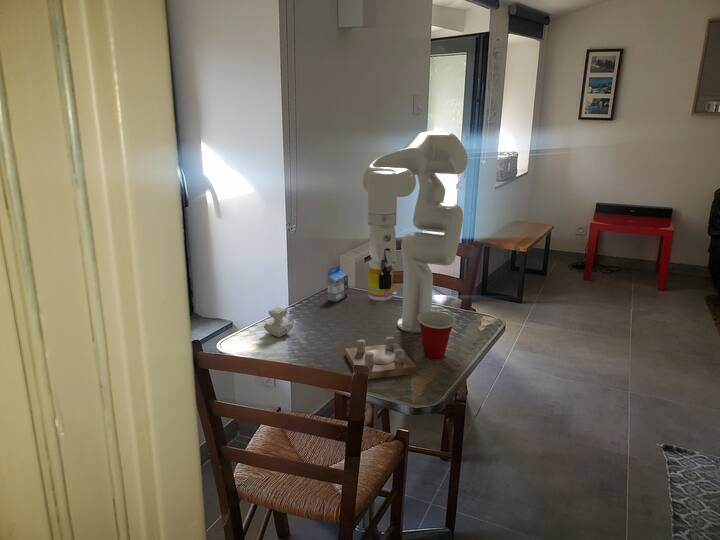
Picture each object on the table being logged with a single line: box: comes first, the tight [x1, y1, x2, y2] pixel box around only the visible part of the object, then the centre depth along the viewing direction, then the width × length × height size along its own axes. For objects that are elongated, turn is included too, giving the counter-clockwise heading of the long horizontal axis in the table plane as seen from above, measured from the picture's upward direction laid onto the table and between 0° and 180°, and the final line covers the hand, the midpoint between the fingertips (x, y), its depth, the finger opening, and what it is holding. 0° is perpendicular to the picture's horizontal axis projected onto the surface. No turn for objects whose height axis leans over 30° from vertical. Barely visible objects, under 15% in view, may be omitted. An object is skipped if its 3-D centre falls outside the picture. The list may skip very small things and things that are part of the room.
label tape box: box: [326, 263, 349, 303], centre depth 204 cm, size 9×4×12 cm, turn 149°
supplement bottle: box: [367, 254, 395, 301], centre depth 144 cm, size 7×7×13 cm
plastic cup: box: [417, 310, 456, 361], centre depth 155 cm, size 11×11×12 cm
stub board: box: [344, 336, 418, 380], centre depth 150 cm, size 16×16×6 cm
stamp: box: [263, 306, 294, 338], centre depth 170 cm, size 9×7×8 cm
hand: (380, 284), depth 145 cm, fingers closed on supplement bottle, 6 cm apart
